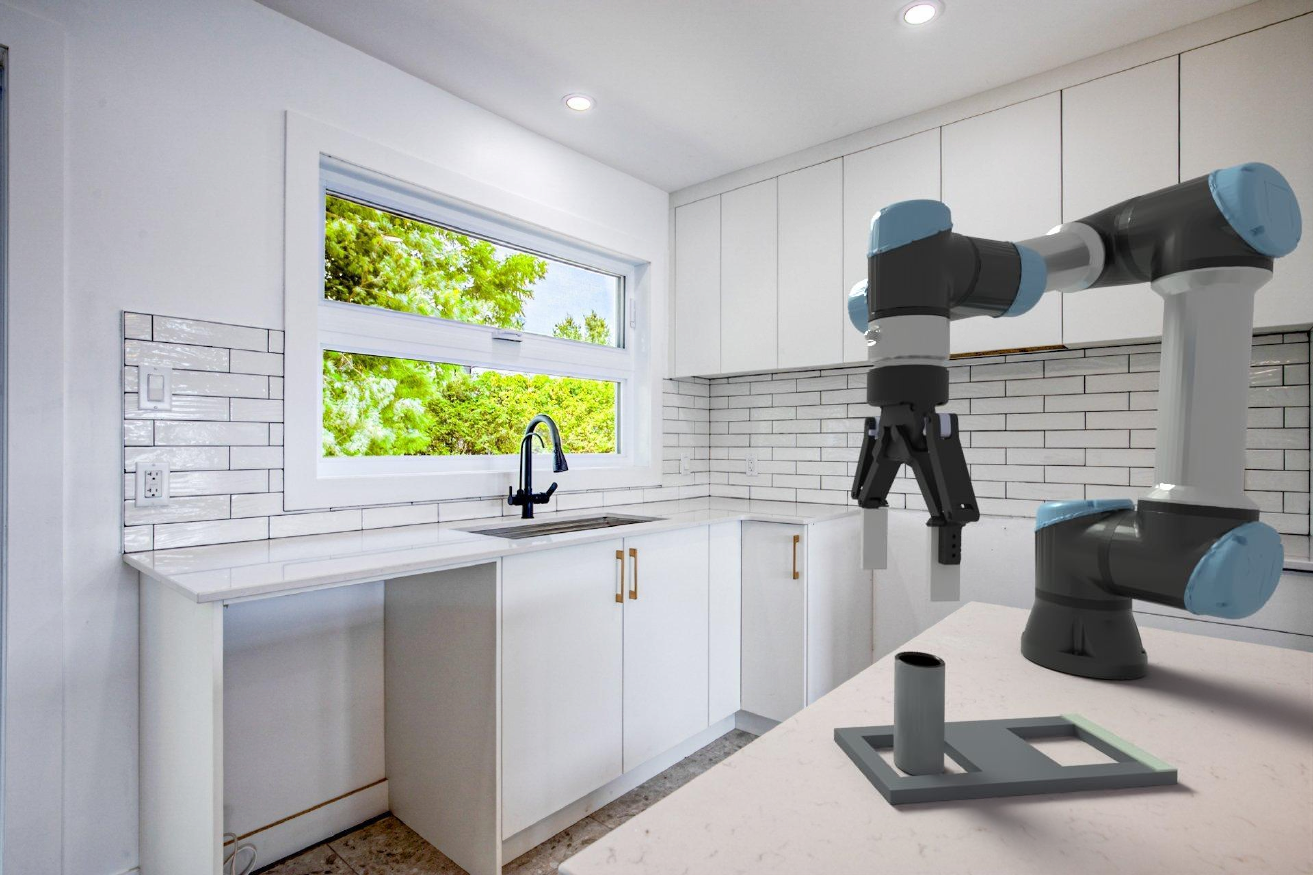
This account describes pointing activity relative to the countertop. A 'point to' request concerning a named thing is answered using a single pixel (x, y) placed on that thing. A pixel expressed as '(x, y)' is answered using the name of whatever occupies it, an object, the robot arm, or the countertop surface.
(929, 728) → the grey hollow cylinder
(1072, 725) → the panel
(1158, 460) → the robot arm
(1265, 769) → the countertop surface
